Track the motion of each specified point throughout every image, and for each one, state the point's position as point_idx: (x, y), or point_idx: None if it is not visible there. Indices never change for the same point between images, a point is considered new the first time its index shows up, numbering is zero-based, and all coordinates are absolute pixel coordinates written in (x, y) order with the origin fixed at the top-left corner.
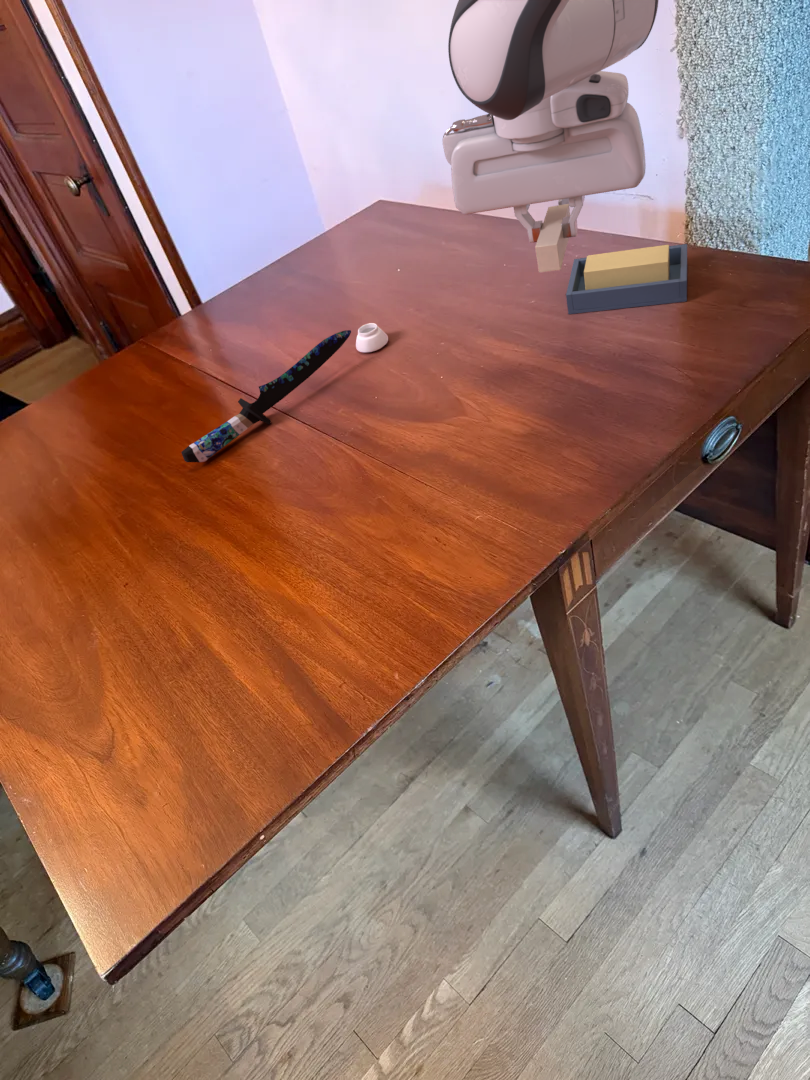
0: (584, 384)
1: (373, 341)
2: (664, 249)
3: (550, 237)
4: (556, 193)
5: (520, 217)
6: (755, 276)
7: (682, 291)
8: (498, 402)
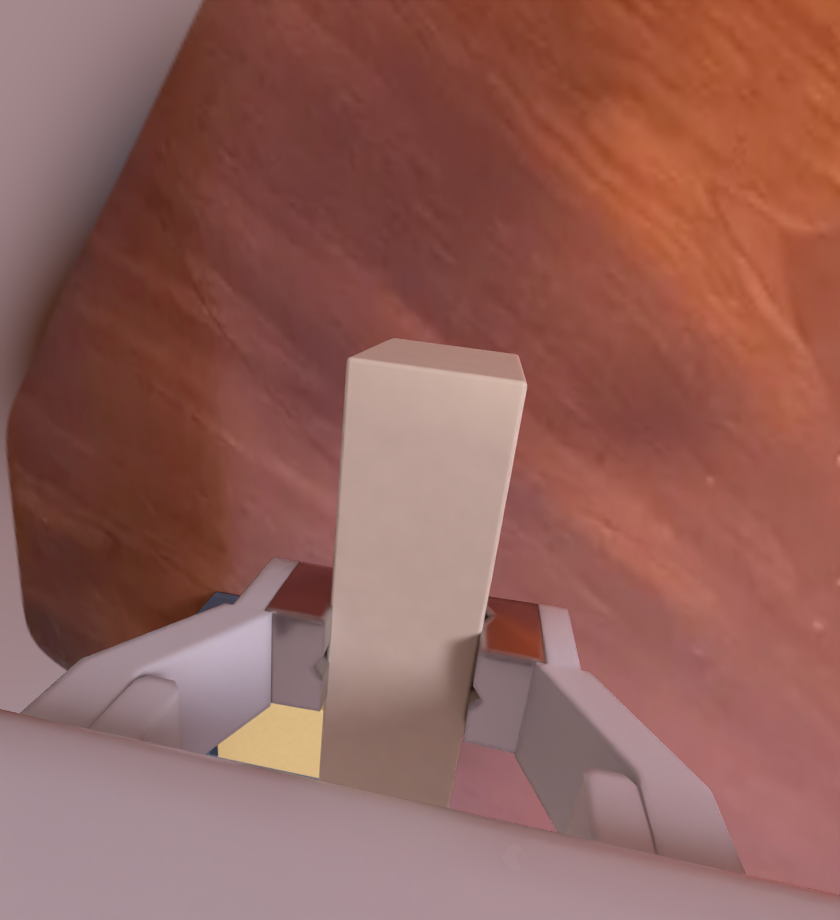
0: (434, 319)
1: None
2: (226, 741)
3: (404, 497)
4: (158, 818)
5: (648, 760)
6: (98, 630)
7: (211, 607)
8: (675, 285)
